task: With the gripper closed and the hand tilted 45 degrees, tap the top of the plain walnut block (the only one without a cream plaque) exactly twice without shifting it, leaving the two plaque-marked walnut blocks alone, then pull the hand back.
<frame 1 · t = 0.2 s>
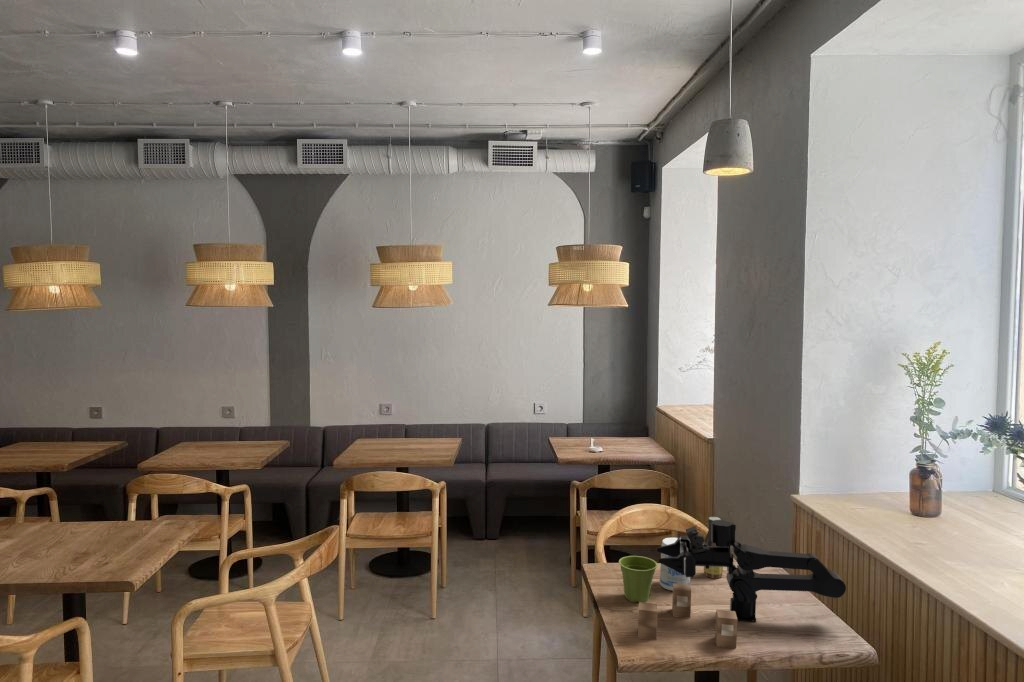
hand: (657, 554, 216), 17 cm above the table, tool horizontal, fingers open, 9 cm apart
marked block B: (681, 613, 215), on the table
plain block: (647, 634, 201), on the table
sauce bottle: (712, 576, 244), on the table
plant pot: (636, 598, 225), on the table
marked block A: (725, 642, 197), on the table
supplement tub: (674, 587, 235), on the table
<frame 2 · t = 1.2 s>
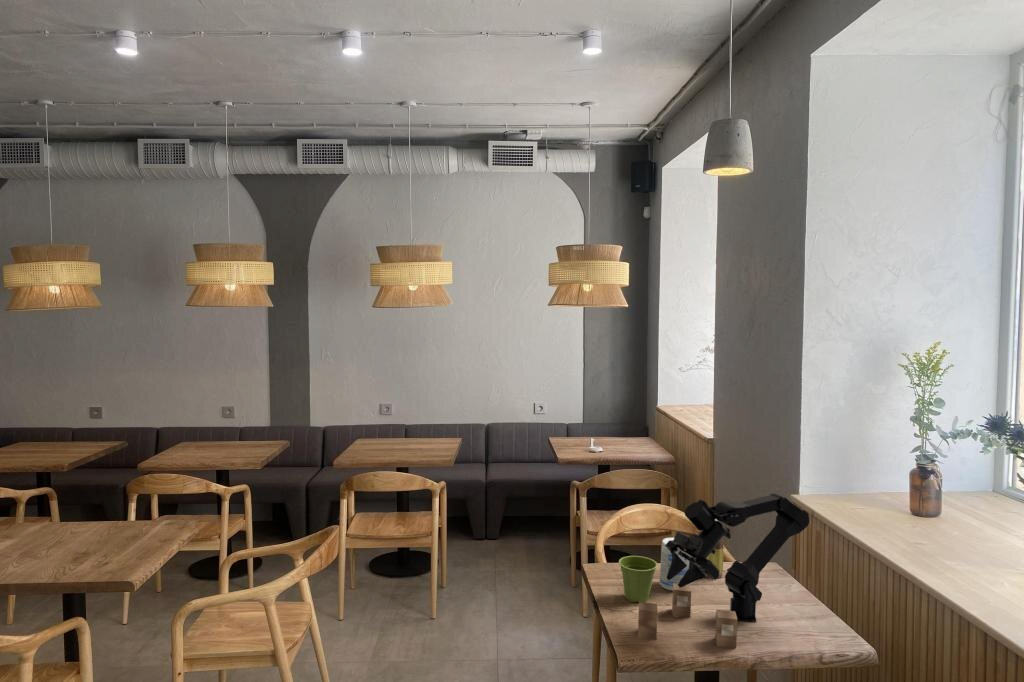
hand: (673, 582, 203), 14 cm above the table, tool tilted 45°, fingers open, 5 cm apart
nothing on the table moved.
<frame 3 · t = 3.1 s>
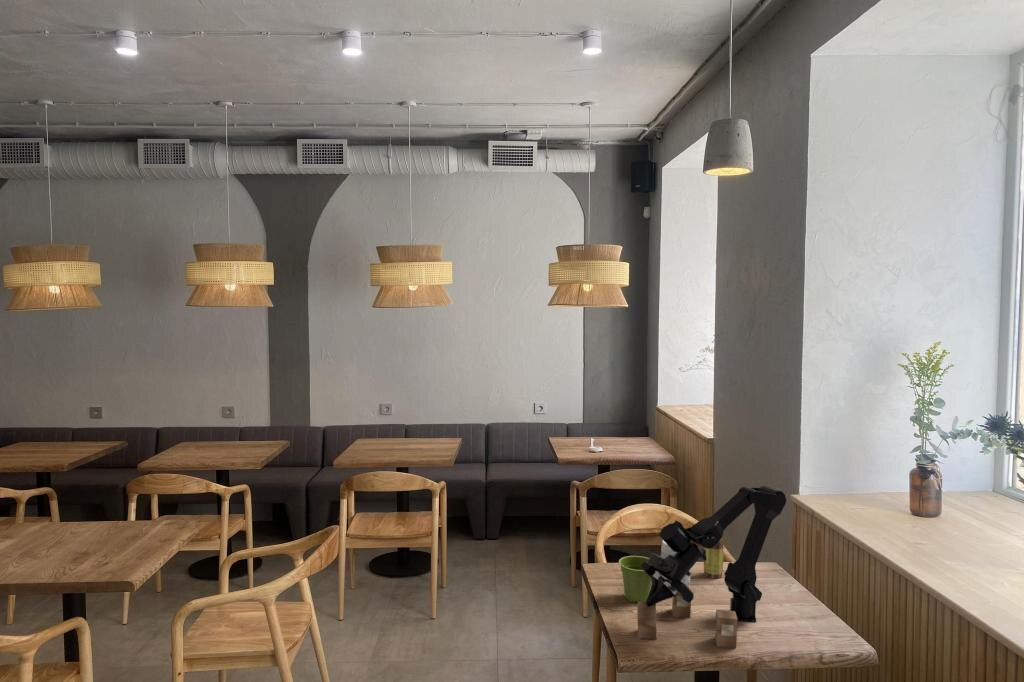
hand: (647, 605, 200), 8 cm above the table, tool tilted 45°, fingers closed, pressing on plain block
plain block: (647, 634, 201), on the table, touching gripper
everything else where it was.
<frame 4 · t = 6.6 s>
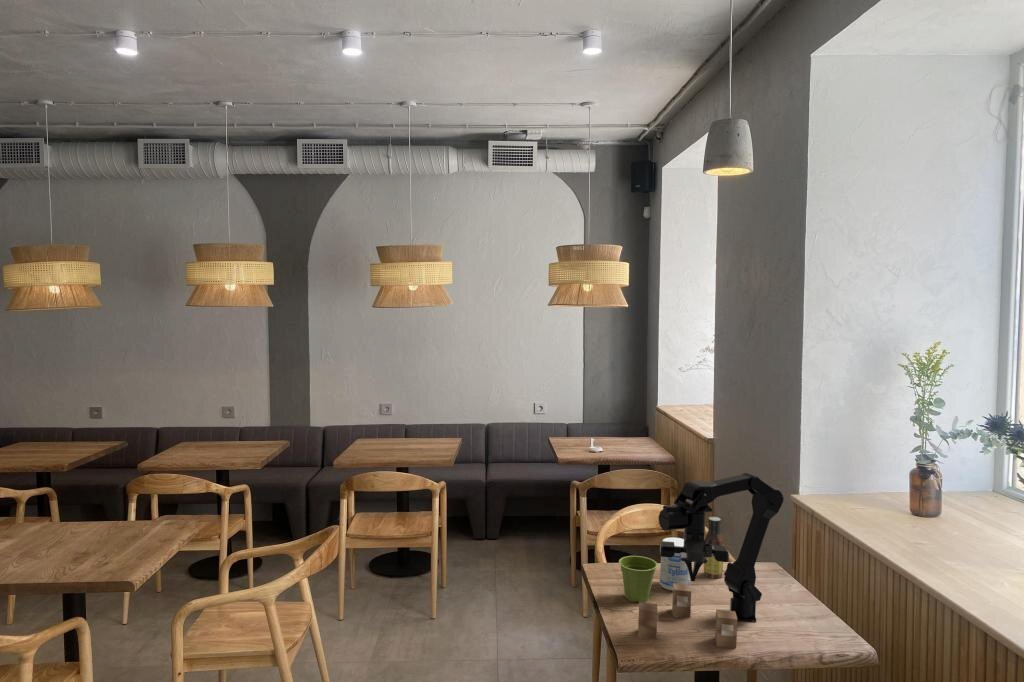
hand: (692, 580, 206), 13 cm above the table, tool pointing down, fingers closed
plain block: (647, 634, 201), on the table
everything else where it was.
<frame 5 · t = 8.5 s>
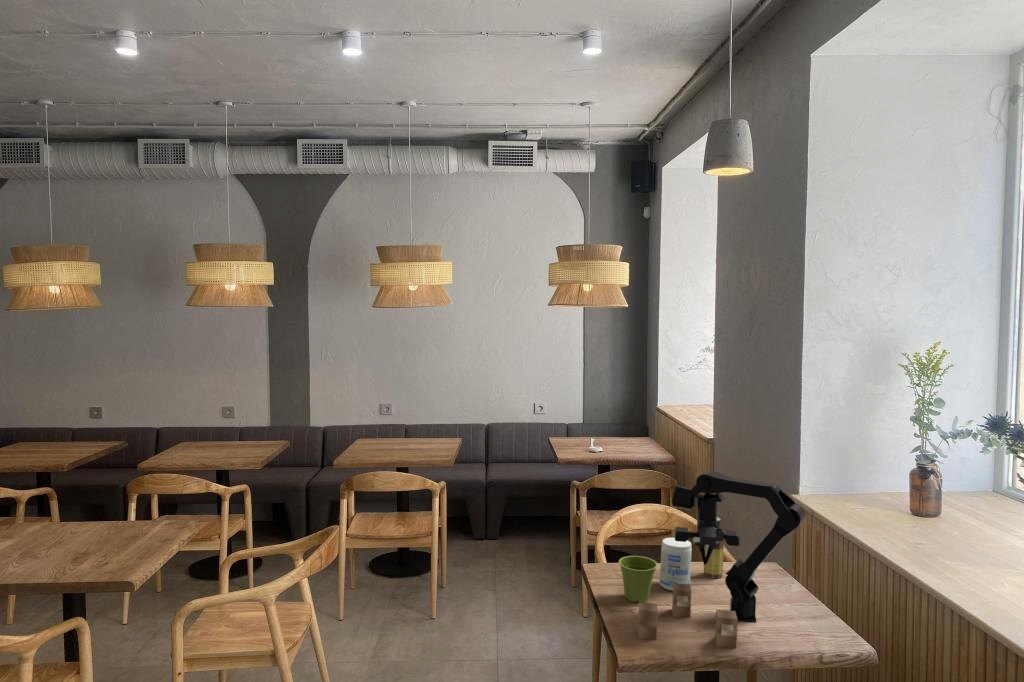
hand: (705, 563, 219), 13 cm above the table, tool pointing down, fingers closed
nothing on the table moved.
at the end: plain block moved 0.1 cm from its start; plain block tilted 0°; marked block B moved 0.1 cm from its start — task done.
